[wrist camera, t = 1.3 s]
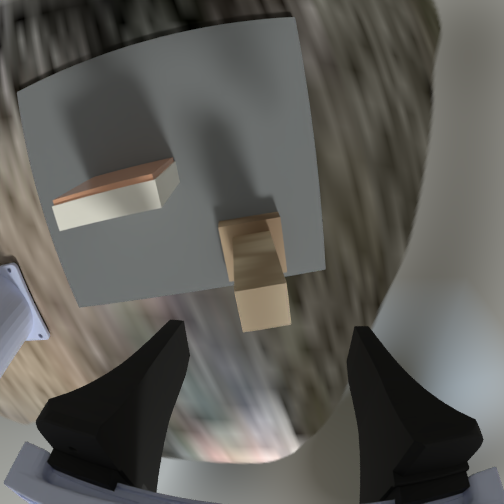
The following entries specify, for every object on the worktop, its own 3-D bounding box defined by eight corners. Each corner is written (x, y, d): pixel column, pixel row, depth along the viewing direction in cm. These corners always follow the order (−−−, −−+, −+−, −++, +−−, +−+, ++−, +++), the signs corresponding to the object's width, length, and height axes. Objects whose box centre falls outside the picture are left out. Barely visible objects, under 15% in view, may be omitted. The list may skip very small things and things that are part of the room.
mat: (81, 304, 24) (79, 307, 24) (20, 92, 17) (17, 92, 16) (323, 266, 24) (325, 269, 24) (293, 18, 17) (294, 16, 16)
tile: (98, 200, 20) (59, 231, 15) (92, 177, 20) (50, 201, 14) (179, 181, 20) (161, 207, 15) (174, 156, 20) (153, 173, 14)
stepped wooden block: (229, 273, 23) (230, 346, 16) (218, 221, 22) (213, 279, 14) (284, 264, 23) (308, 333, 16) (277, 211, 22) (302, 264, 14)
